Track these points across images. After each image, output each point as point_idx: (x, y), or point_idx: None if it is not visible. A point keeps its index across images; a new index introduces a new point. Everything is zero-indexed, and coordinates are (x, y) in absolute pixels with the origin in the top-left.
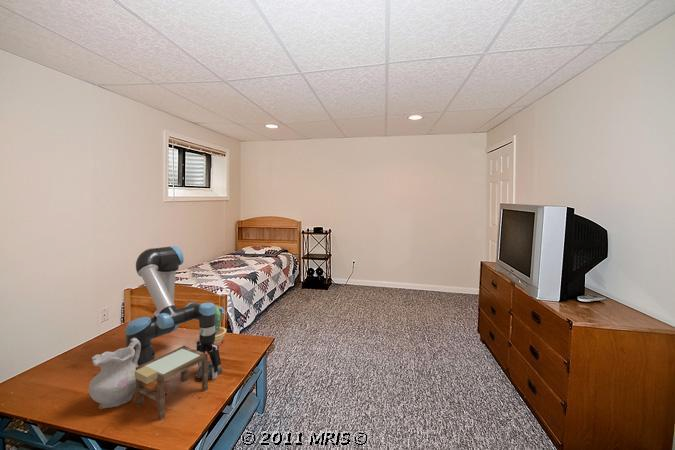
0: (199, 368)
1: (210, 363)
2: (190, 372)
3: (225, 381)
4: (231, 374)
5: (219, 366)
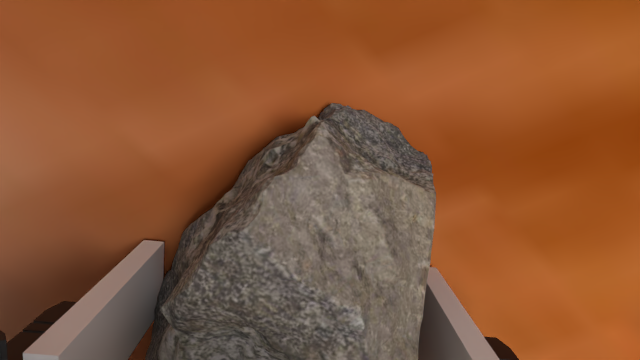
0: (130, 353)
1: (300, 352)
2: (21, 319)
3: (592, 293)
4: (579, 146)
5: (432, 225)
